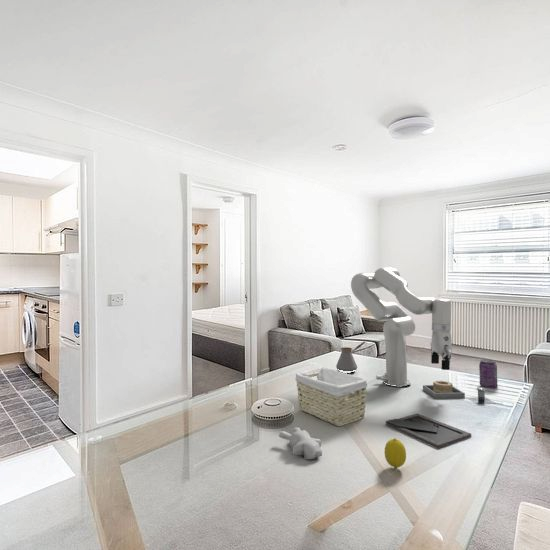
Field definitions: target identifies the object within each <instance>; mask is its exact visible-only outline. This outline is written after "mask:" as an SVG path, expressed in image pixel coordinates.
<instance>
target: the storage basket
mask: <svg viewBox="0 0 550 550" xmlns="http://www.w3.org/2000/svg"><path fill="white" fill-rule="evenodd" d="M313 377H316V378H317V379H315V378H313ZM295 381H296V387H297V396H298V398H297V400H298V407H299V410H301V411H302V410H303V411H302V412H305V413H307V414H310V415H312V416H314V417H316V418H319V419H320V420H322V421H325V422H328V423H330V424H331V425H334V426H337V427H343V426H345V425H347V424H350V423H354V422H357V421H360V420H361V419H364V418H365V415H366V409H365V408H366V401H367V398H366V397H367V396H366V395H367V394H366V393H367V391H366V390H367V388H368V383H367V382H368V381H367V380H366V379H365V378H363V377H359V376H356V375H353V374H351V373H349V374H346V373H343V372H340V371H339V370H336V369H332V368H327V367H319V368H314V369H310V370H305V371H301V372H297V373H296V374H295Z"/></svg>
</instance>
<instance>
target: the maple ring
mask: <svg viewBox="0 0 550 550" xmlns="http://www.w3.org/2000/svg"><path fill="white" fill-rule="evenodd" d="M432 385H433V391H434V392H435V393H453V391H452V386H453V383H452V382H450V381H446V380H435V381H433V382H432Z"/></svg>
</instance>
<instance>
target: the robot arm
mask: <svg viewBox="0 0 550 550" xmlns="http://www.w3.org/2000/svg"><path fill="white" fill-rule="evenodd" d="M350 287H351V289H350V290H351V292H352V294H353V296H354V297H355V298H356V299H357V300H358V301H359V302H360V303H361V304H362V305H363V306H364V308H365V309H366V310H367V312H369V313H370V314H371V317H373V318H374V319H375V320H377V321H378V322H384V324H383V327H382V328H383V329H382V331H383V337H384V343H385V345H384V346H385V369H386V370H385V372H384V374H382V375H376V376H375V377H376V378H375V379H376V380H379V381H382V383H383V382H385V383H387V384H390V385H396V386H407V385H410V386H411V383H412V382H411V381H410V380H408V367H407V366H408V365H407V360H408V359H407V358H408V357H407V344H406V341H405V337H408V336H411V335H412V334H414V332H415V331H416V323H415V321H414V320H413V319H412V318H411V316H410V315H409V314H408V313H407V312H406V311H405V310H407V311H408V312H410V313H412V314H414V315H417V316H420V315H428V314H431V331H432V333H431V343H430V350H431V352H430V354H431V359H430V363H431V364H440V356H441V359H442V360H441V366H440V367H441V370H442V371H448V370H450V368H451V367H450V363H451V358H452V354H453V350H452V349H453V346H452V345H453V344H452V334H451V331H452V330H451V328H452V302H451V300H449V299H446V298H435V297H430V296H426V297H425V296H424V297H418V296H417V295H415V294H413V293H412V292H410V290H408V282H407V281H406V280H404V279H403V278H402V277H401V275H400V272H399V271H398V269H396V268H394V267H380V268H378V269H376V270H375V272H359V273H356V274H355V275H354V276H353V277H352V278H351V281H350ZM379 288H384V289H385V290H387V291H388V292H390V293H391V294H392V295H393V296H395V298H396V300H397V302H398V303H396V302H394V301H384V300H382V299H381V298H380V297H379V296H378V295H377V293H375V292H374V291H372V290H373V289H379ZM401 306H402V307H401ZM403 307H404V309H405V310H404V309H403ZM407 387H408V386H407Z"/></svg>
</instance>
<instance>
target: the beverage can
mask: <svg viewBox="0 0 550 550" xmlns="http://www.w3.org/2000/svg"><path fill="white" fill-rule="evenodd" d="M479 361H480V362H479V367H478V369H479V370H478V371H479V385H480V387H482V388H488V389H489V388H492V389H494V388H498V365H497V362H496V360H493V359H487V358H486V359H480V360H479Z"/></svg>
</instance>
